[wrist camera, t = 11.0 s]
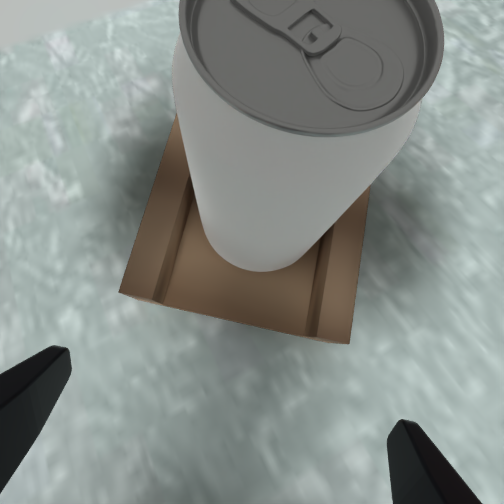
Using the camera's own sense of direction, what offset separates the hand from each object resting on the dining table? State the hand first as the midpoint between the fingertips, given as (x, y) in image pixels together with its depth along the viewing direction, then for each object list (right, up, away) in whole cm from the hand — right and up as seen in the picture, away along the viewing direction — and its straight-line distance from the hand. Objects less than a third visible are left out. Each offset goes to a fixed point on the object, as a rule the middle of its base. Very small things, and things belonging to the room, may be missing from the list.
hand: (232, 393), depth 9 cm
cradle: (+1, +6, +10) cm, 12 cm away
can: (+1, +6, +10) cm, 11 cm away
